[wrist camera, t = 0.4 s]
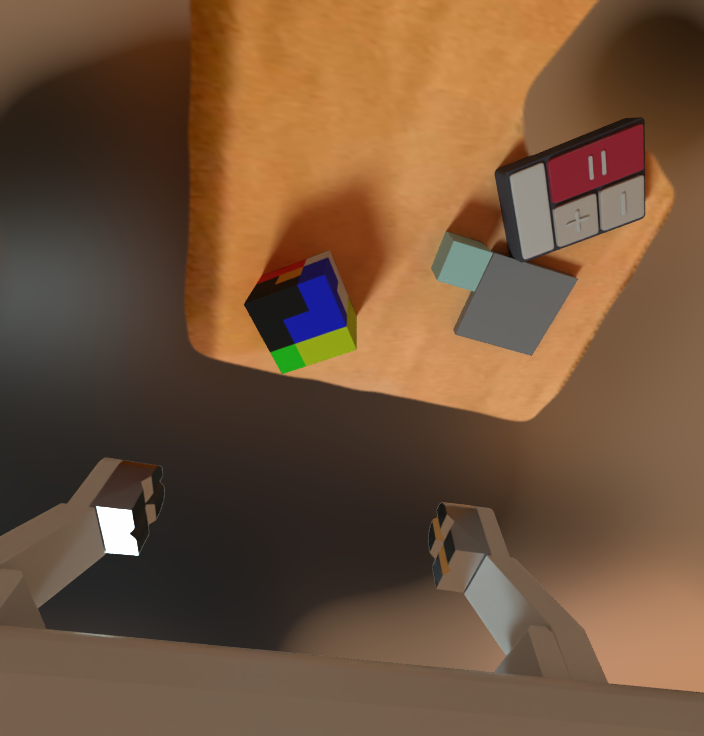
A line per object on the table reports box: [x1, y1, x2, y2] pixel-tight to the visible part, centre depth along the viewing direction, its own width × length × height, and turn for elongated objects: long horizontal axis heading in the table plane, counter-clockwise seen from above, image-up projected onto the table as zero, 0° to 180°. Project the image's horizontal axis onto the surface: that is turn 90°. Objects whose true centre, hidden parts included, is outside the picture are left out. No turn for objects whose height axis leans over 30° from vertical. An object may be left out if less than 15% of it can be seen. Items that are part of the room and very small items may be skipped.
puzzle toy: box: [244, 250, 357, 374], centre depth 52 cm, size 10×10×10 cm
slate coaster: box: [453, 250, 578, 356], centre depth 56 cm, size 12×12×2 cm
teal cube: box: [431, 231, 493, 292], centre depth 51 cm, size 5×5×5 cm
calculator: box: [495, 118, 645, 263], centre depth 48 cm, size 11×4×15 cm
